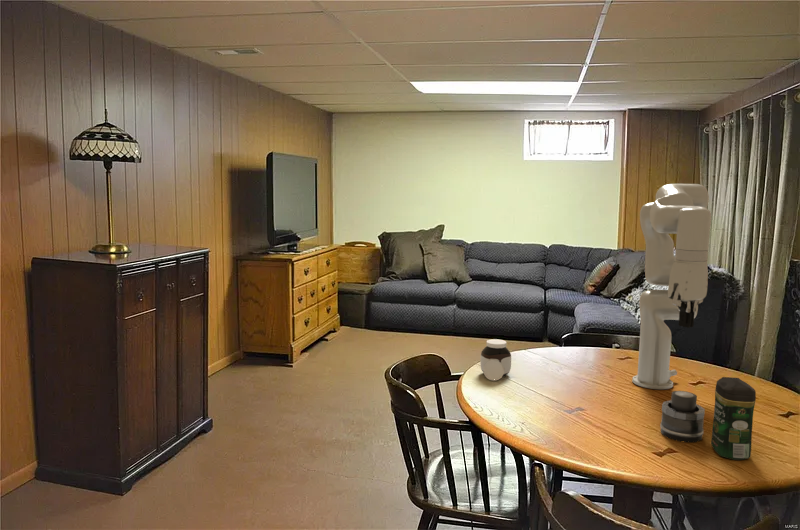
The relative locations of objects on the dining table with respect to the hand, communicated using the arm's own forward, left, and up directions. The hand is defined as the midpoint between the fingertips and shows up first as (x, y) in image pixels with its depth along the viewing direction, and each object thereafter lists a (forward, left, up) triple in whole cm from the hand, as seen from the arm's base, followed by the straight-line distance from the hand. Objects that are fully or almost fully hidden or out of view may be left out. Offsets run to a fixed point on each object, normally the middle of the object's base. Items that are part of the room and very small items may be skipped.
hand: (685, 326), depth 160 cm
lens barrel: (0, +1, -29) cm, 29 cm away
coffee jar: (-1, +14, -30) cm, 33 cm away
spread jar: (+14, -61, -30) cm, 69 cm away
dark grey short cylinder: (0, +1, -23) cm, 23 cm away
